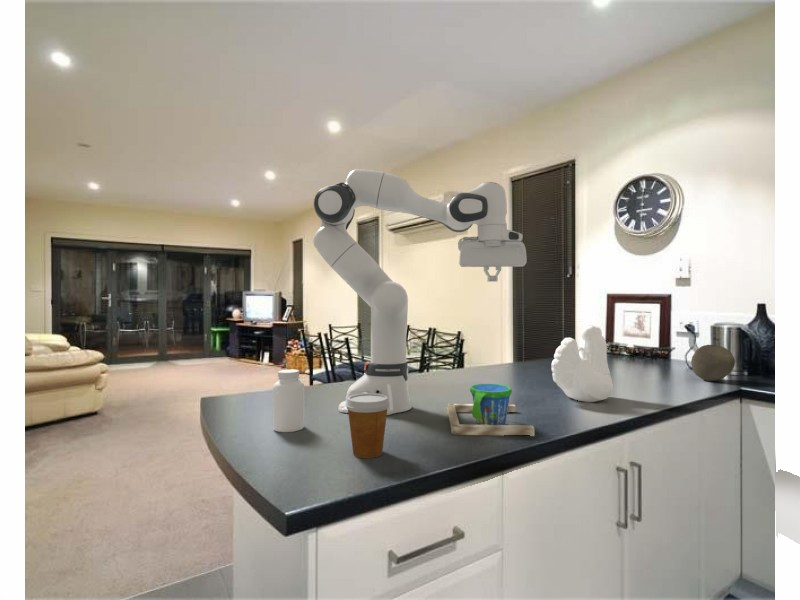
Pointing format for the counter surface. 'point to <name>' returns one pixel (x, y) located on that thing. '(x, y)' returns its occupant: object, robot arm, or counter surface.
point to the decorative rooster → (583, 367)
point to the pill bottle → (288, 402)
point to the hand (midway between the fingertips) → (492, 281)
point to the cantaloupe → (712, 362)
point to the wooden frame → (484, 429)
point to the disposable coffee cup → (367, 423)
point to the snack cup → (490, 403)
